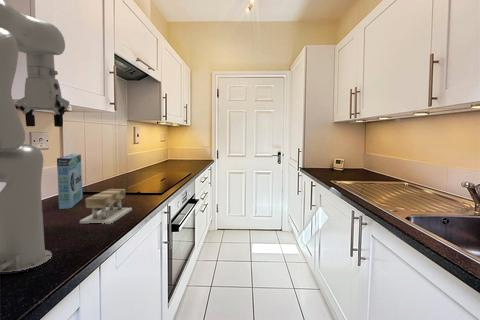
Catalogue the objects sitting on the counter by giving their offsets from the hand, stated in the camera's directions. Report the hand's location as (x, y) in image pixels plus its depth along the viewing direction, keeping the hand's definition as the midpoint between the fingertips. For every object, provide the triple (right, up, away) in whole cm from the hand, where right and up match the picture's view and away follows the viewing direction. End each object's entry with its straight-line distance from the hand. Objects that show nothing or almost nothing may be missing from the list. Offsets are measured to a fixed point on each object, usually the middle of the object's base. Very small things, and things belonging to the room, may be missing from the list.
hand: (44, 126), depth 95 cm
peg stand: (+11, -34, +21) cm, 42 cm away
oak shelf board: (+12, -28, +20) cm, 37 cm away
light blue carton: (-15, -32, +40) cm, 54 cm away
